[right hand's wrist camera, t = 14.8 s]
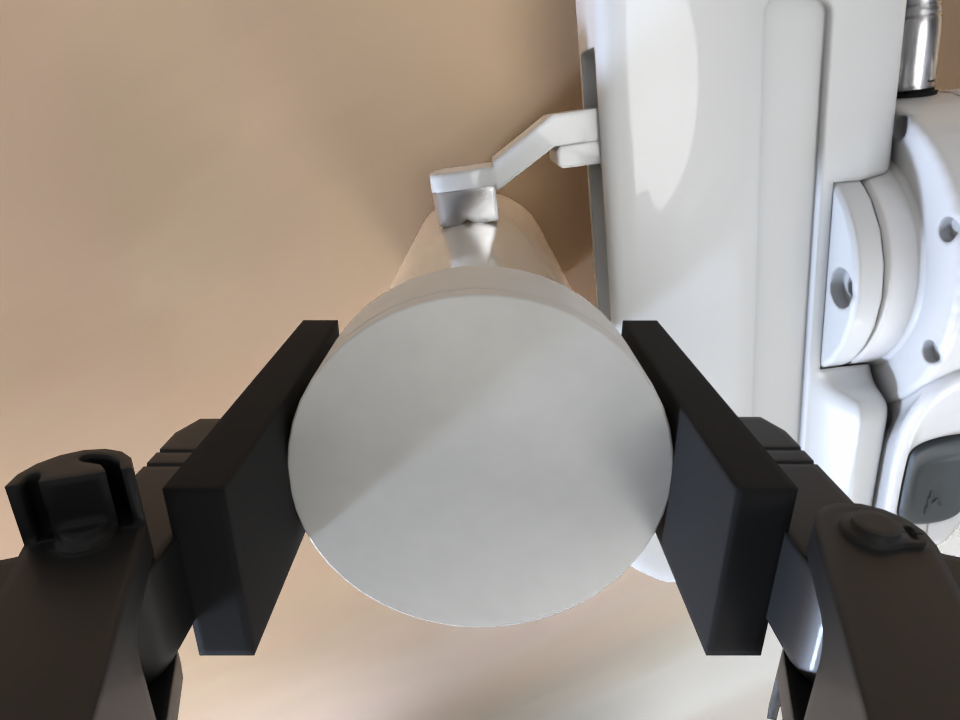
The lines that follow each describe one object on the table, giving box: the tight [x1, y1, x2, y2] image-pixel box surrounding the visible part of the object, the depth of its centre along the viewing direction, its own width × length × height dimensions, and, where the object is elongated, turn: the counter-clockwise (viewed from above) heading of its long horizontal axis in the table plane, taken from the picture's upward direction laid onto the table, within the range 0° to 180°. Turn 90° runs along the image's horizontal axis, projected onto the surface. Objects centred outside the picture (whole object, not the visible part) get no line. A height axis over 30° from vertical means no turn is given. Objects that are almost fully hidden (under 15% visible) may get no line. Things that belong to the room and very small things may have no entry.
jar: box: [388, 194, 572, 291], centre depth 18 cm, size 5×5×15 cm
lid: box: [288, 266, 673, 627], centre depth 11 cm, size 6×6×2 cm
